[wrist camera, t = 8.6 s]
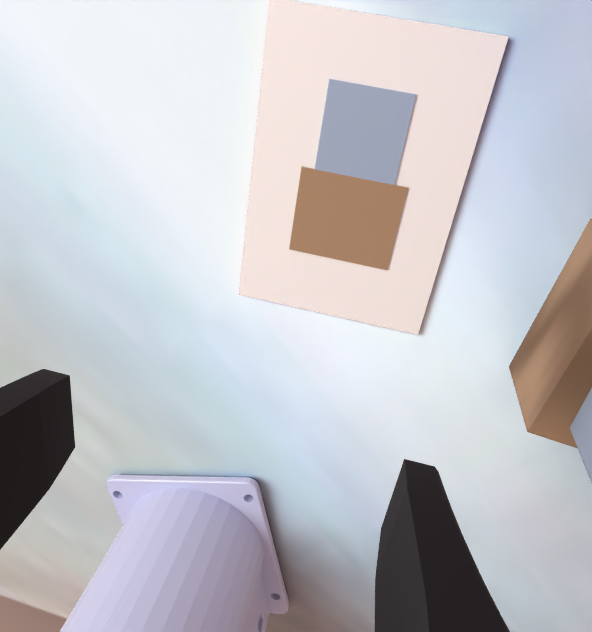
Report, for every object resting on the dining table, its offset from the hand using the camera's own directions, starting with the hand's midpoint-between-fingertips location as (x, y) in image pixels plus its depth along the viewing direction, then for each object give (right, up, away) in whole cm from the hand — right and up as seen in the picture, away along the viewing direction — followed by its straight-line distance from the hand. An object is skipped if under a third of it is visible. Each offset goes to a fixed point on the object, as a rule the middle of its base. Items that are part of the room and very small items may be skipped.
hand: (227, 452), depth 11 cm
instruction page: (+3, +7, +7) cm, 11 cm away
